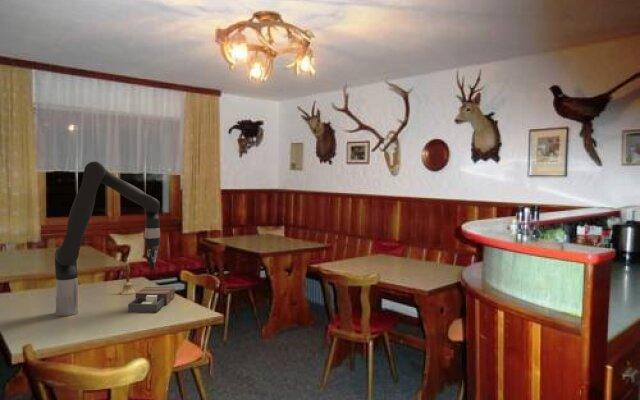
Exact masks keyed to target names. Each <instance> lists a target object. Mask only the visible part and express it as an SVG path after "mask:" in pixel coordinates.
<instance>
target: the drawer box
mask: <svg viewBox="0 0 640 400" xmlns="http://www.w3.org/2000/svg"><path fill="white" fill-rule="evenodd" d="M175 289H176V288H175V286H144V287H143V288H141V289H140V290H138V291H136V293H135V299H136V298H137V297H140V298H146V296H147V295H157V298H165V306H168V305H169V304H170V303H171V302H172V301H173V300H174V299H176V298H175V297H176V295H175V294H176V290H175Z"/></svg>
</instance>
